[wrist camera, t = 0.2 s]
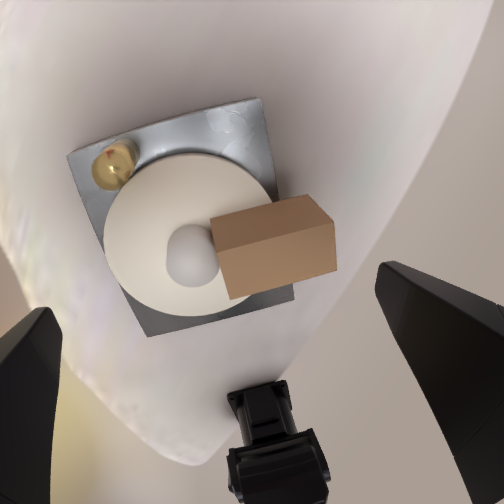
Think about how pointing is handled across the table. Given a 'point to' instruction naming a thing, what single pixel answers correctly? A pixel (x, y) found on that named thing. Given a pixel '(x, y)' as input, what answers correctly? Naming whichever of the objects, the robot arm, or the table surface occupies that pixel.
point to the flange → (210, 236)
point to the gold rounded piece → (115, 164)
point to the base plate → (177, 142)
